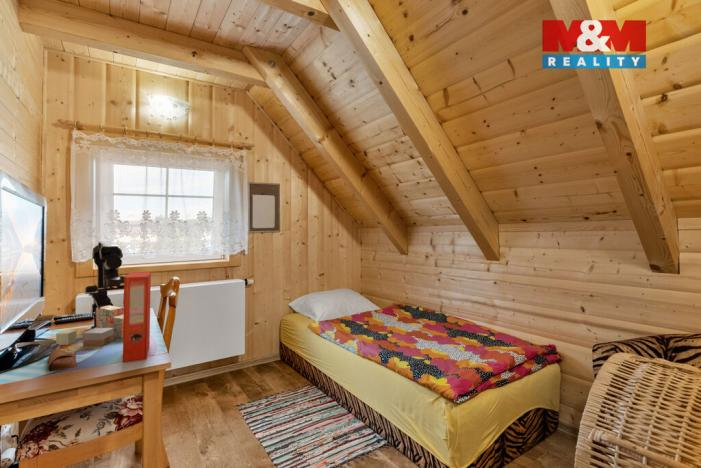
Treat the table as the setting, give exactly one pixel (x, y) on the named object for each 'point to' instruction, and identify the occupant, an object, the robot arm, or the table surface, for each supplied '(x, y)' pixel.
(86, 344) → the walnut base block
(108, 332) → the grey top block
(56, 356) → the sunglasses case
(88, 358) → the table surface
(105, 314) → the stack of blocks
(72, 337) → the sage cube
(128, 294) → the file binder
